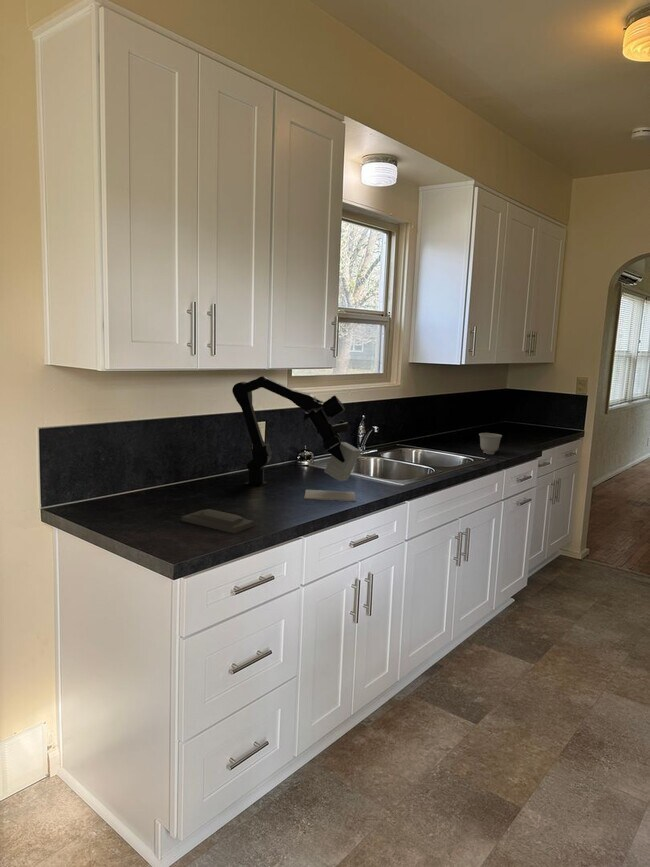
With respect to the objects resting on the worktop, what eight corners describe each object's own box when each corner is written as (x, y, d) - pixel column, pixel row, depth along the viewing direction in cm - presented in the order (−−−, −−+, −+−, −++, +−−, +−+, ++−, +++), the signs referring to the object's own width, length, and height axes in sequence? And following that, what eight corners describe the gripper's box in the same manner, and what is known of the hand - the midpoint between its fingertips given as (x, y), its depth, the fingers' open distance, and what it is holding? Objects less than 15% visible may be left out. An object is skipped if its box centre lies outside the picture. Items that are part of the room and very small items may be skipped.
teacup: (494, 450, 351) (496, 432, 350) (503, 456, 337) (505, 436, 335) (472, 450, 351) (474, 431, 349) (481, 455, 336) (482, 435, 334)
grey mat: (304, 498, 230) (304, 497, 229) (305, 490, 241) (305, 489, 241) (355, 501, 229) (355, 500, 229) (354, 493, 241) (354, 492, 241)
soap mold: (204, 515, 205) (204, 504, 205) (255, 527, 195) (255, 516, 195) (181, 522, 197) (181, 511, 196) (233, 535, 187) (233, 523, 186)
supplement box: (347, 480, 245) (362, 451, 243) (338, 481, 239) (353, 450, 236) (332, 471, 249) (346, 441, 246) (323, 471, 242) (337, 441, 240)
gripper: (340, 414, 232) (363, 451, 233) (340, 411, 250) (361, 446, 251) (313, 430, 233) (336, 468, 234) (315, 426, 251) (336, 461, 252)
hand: (343, 460), depth 243 cm, fingers closed on supplement box, 9 cm apart
